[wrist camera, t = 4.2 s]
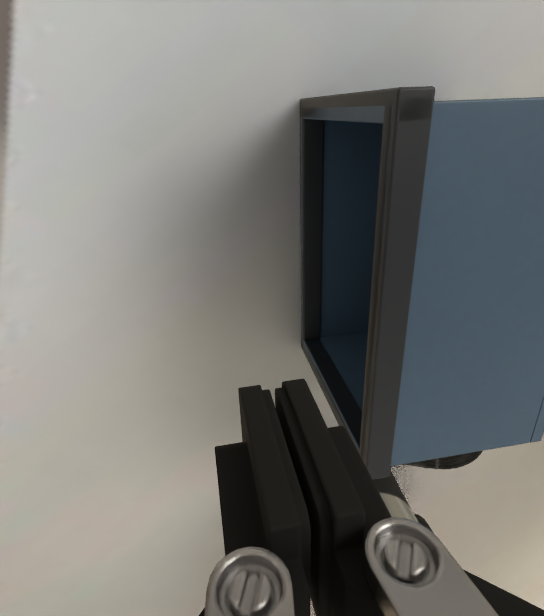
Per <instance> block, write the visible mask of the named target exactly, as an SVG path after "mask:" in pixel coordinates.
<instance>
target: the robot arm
mask: <svg viewBox="0 0 544 616" xmlns="http://www.w3.org/2000/svg"><path fill="white" fill-rule="evenodd" d="M239 403H240V415H241V427H242V439H243V442H241V443H235V444H229V445H223V446H216V447H215V455H216V465H217V475H218V486H219V496H220V506H221V516H222V526H223V536H224V546H225V557H224V558H223V559H222V560H221V561H220V562H219V563H218V564H217V565H216V567H215V568H214V570H213V572H212V574H211V575H210V578H209V583H208V587H207V593H206V603H205V608H204V609H203V611H202V612H201V613H200V615H199V616H310V596H311V600H312V603H313V607H314V611H315V614H316V616H544V610H542V609H540V608H538V607H536V606H534V605H532V604H530V603H529V602H527V601H525V600H523V599H521V598H519V597H517V596H515V595H513V594H511V593H509V592H507V591H505V590H503V589H501V588H499V587H497V586H495V585H493V584H491V583H489V582H487V581H485V580H483V579H481V578H479V577H477V576H475V575H473V574H471V573H469V572H467V571H465V570H463V569H462V568H461V567H460V565H459V564H458V563H457V561H456V560H455V559H454V558H453V556H452V555H451V554H450V552H449V551H448V550H447V549H446V547H445V546H444V545H443V544H442V542H441V541H440V540H439V539H438V538H437V536H436V535H435V534H434V533H433V532H432V531H431V530H430V529H428V528H426V527H425V526H423V525H422V524H420V523H419V522H416V521H413V520H410V519H407V518H399V517H392V516H391V514H390V512H389V511H388V509H387V507H386V505H385V503H384V501H383V499H382V497H381V495H380V493H379V491H378V489H377V487H376V485H375V484H374V482H373V480H372V478H371V476H370V474H369V472H368V470H367V468H366V466H365V464H364V462H363V460H362V458H361V457H360V455H359V453H358V451H357V449H356V447H355V445H354V443H353V441H352V439H351V437H350V435H349V433H348V432H347V430H346V429H345V427H343V426H338V427H332V428H327V426H326V424H325V422H324V420H323V417H322V415H321V413H320V411H319V409H318V407H317V404H316V402H315V400H314V398H313V396H312V394H311V391H310V389H309V387H308V385H307V383H306V381H305V379H297V380H290V381H284V382H282V388H276V389H275V405H274V402H273V399H272V396H271V393H270V390H262V389H261V386H260V385H256V386H249V387H242V388H239ZM275 407H276V409H275Z"/></svg>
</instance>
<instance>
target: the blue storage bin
mask: <svg viewBox="0 0 544 616" xmlns="http://www.w3.org/2000/svg"><path fill="white" fill-rule="evenodd" d="M434 94H435V88H434V87H432V86H427V87H399V88H390V89H382V90H373V91H365V92H356V93H348V94H339V95H330V96H322V97H313V98H305V99H300V224H301V347H302V349H303V351H304V354H305V356H306V358H307V360H308V362H309V364H310V366H311V368H312V370H313V372H314V374H315V376H316V378H317V381H318V383H319V385H320V387H321V389H322V391H323V393H324V395H325V397H326V399H327V401H328V403H329V405H330V407H331V410H332V412H333V414H334V416H335V418H336V420H337V422H338V424H339V426H343V427H345V429H346V430H347V432H348V433H349V435H350V437H351V439H352V441H353V443H354V445H355V447H356V449H357V451H358V453H359V455H360V457H361V458H362V460H363V462H364V464H365V466H366V468H367V470H368V472H369V474H370V476H371V478H372V479H378V478H384V477H389V476H390V471H391V466H396V465H401V464H407V463H413V462H419V461H425V460H431V459H436V458H442V457H448V456H454V455H460V454H466V453H471V452H477V451H483V450H489V449H495V448H500V447H506V446H512V445H518V444H524V443H529V442H536V441H541V439H542V435H543V432H544V97H535V98H508V99H481V100H454V101H434Z"/></svg>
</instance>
